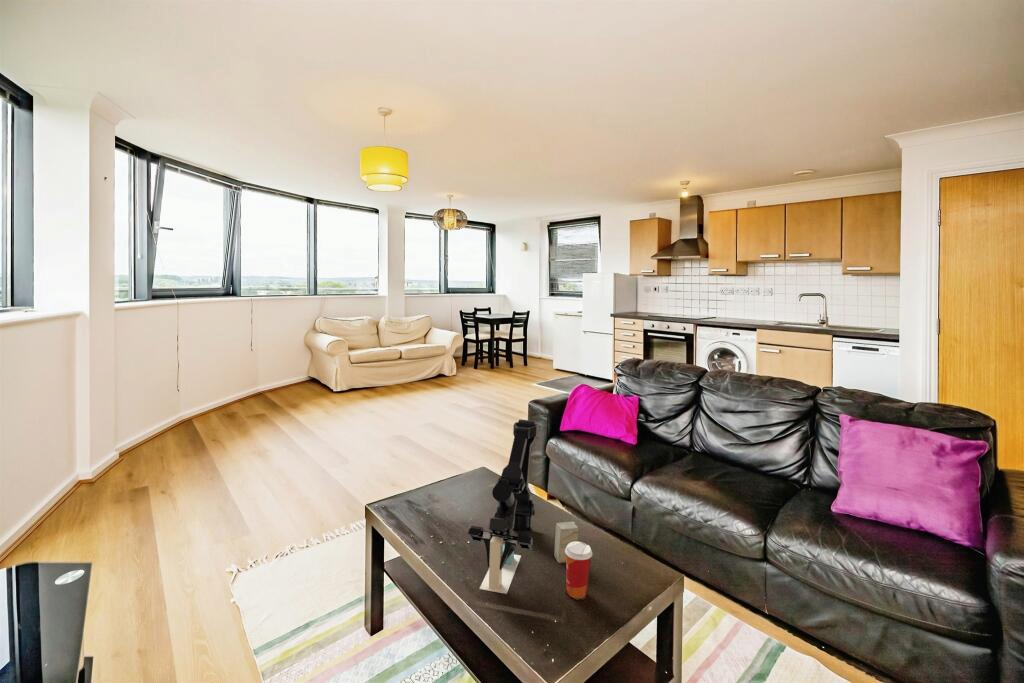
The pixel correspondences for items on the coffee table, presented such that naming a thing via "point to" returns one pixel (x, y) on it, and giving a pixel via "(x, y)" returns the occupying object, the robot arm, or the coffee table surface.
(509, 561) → the teal block
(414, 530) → the coffee table surface
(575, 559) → the paper cup
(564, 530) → the skincare box
